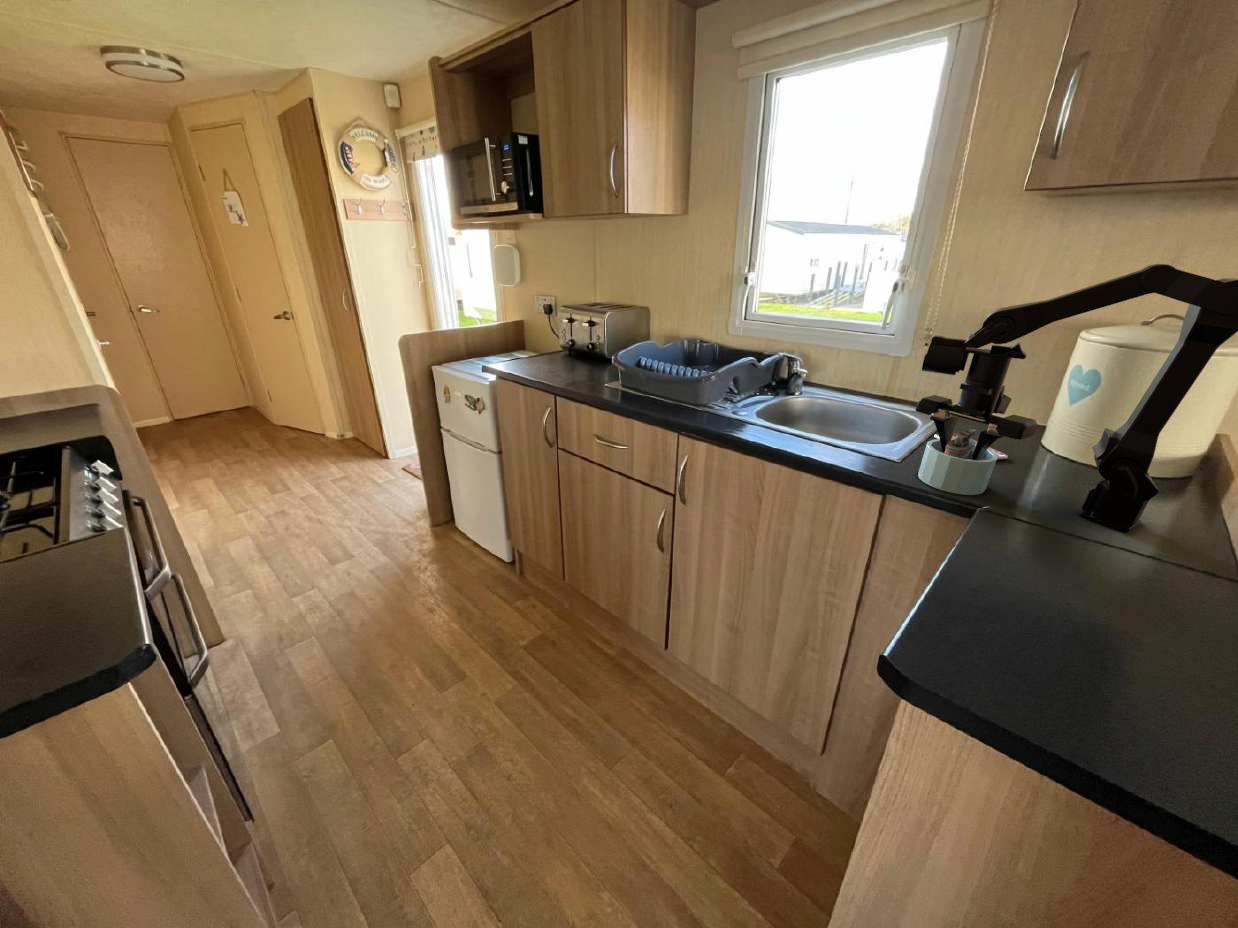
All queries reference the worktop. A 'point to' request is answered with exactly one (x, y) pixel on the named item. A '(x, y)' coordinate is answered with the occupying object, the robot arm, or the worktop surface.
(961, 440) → the lighter
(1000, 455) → the mobile phone
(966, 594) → the worktop surface
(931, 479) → the pale green round tub
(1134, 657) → the worktop surface
